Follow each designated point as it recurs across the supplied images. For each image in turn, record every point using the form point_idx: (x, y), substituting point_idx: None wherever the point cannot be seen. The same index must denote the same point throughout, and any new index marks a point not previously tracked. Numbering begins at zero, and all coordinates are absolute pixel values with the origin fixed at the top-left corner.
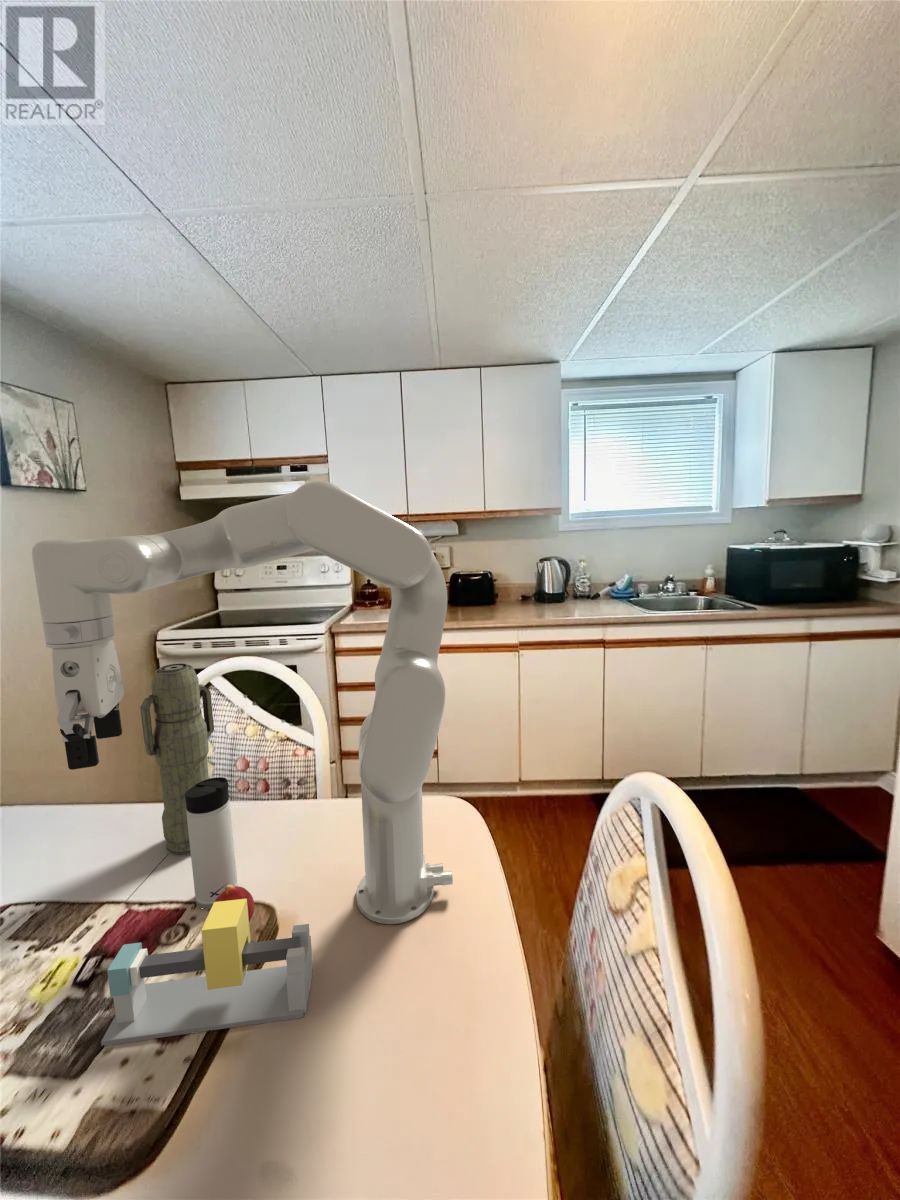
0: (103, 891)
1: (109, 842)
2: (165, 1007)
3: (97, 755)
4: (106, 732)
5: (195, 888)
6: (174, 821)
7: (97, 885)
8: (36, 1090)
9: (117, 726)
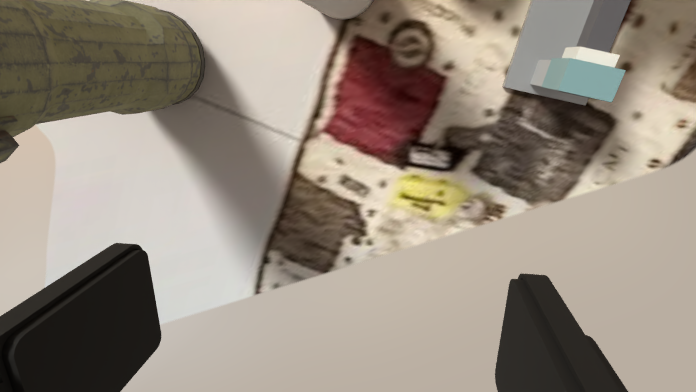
0: (266, 181)
1: (138, 204)
2: (574, 25)
3: (549, 300)
4: (137, 320)
5: (356, 10)
6: (162, 80)
7: (248, 193)
8: (605, 163)
9: (105, 283)
